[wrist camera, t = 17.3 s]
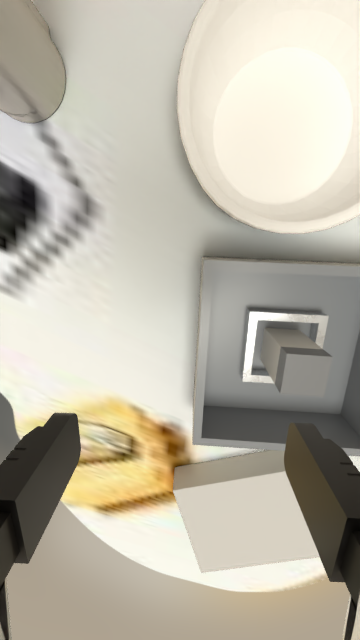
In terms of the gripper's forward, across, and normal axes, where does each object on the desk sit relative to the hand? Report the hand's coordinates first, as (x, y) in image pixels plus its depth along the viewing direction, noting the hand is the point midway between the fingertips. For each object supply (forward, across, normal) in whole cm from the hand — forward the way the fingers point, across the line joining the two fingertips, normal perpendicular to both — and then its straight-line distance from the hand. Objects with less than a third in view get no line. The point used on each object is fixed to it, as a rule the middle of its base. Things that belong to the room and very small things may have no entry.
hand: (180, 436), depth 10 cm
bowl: (+28, -10, -19) cm, 35 cm away
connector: (+26, -13, +6) cm, 29 cm away
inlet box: (+27, -12, +6) cm, 30 cm away
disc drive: (+27, -12, +34) cm, 44 cm away
